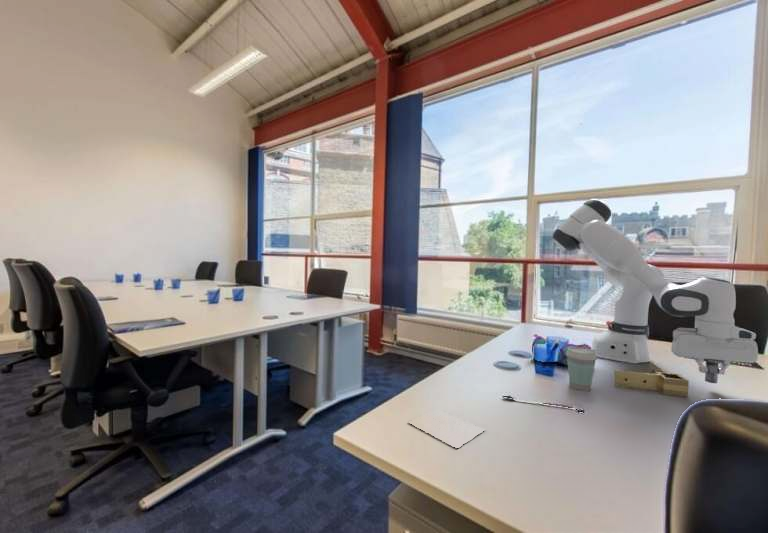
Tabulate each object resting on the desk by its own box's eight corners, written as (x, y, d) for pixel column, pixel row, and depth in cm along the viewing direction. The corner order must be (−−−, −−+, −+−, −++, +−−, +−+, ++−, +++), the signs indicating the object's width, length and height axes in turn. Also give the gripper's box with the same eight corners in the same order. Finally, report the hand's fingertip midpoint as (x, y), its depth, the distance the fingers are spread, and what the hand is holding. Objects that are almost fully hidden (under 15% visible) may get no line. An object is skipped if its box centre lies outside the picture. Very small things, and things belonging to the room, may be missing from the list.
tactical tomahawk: (580, 407, 96) (581, 403, 96) (585, 415, 90) (585, 411, 90) (503, 393, 104) (503, 390, 104) (502, 400, 98) (502, 396, 98)
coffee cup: (593, 384, 110) (594, 348, 110) (597, 394, 102) (599, 355, 102) (563, 380, 114) (565, 344, 113) (565, 389, 106) (566, 351, 105)
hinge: (687, 397, 101) (688, 380, 101) (617, 388, 107) (618, 373, 107) (660, 376, 118) (661, 362, 118) (601, 369, 124) (601, 356, 124)
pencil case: (594, 367, 127) (595, 342, 126) (589, 373, 120) (590, 347, 120) (536, 355, 141) (537, 332, 140) (529, 360, 134) (530, 336, 134)
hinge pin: (704, 382, 105) (705, 359, 105) (699, 378, 109) (700, 355, 109) (723, 385, 103) (724, 361, 103) (717, 380, 107) (718, 357, 107)
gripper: (678, 329, 105) (676, 372, 106) (763, 334, 99) (760, 380, 100) (668, 324, 111) (666, 366, 112) (747, 329, 105) (745, 373, 106)
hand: (711, 373), depth 106 cm, fingers closed on hinge pin, 3 cm apart
